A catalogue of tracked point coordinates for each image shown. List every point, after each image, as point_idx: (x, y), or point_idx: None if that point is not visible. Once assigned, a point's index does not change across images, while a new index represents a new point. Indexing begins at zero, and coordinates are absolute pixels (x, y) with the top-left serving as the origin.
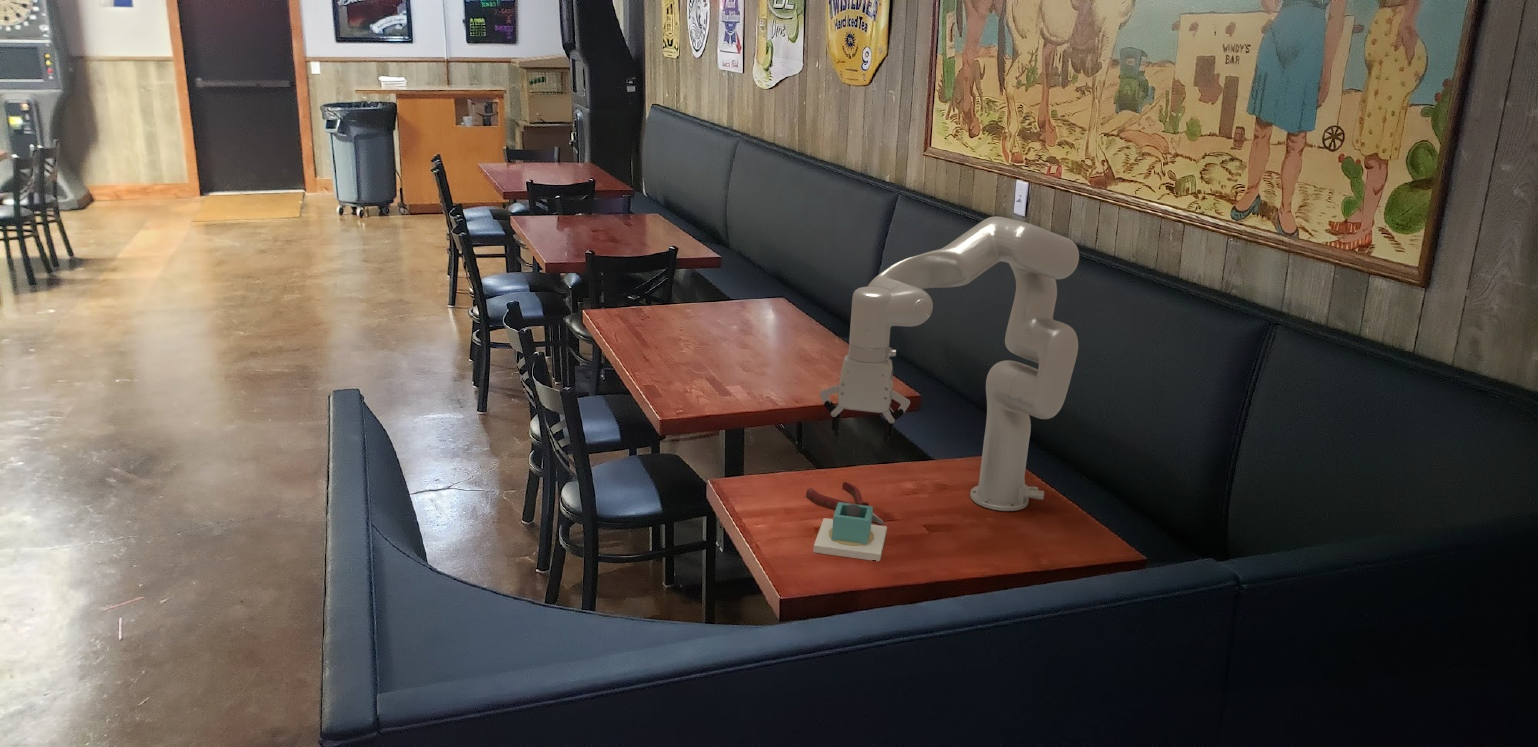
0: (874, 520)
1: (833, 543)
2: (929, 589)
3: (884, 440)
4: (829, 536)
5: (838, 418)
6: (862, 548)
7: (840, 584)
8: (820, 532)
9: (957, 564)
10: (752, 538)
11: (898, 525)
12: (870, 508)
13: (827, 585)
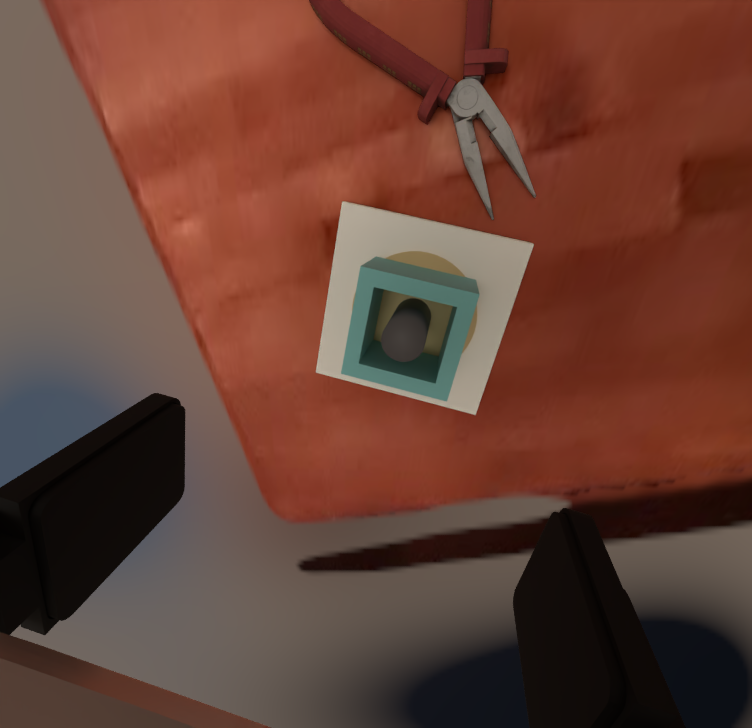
0: (508, 162)
1: None
2: None
3: (517, 607)
4: None
5: (56, 615)
6: None
7: (374, 493)
8: (331, 301)
9: (684, 418)
10: (183, 302)
11: (587, 177)
12: (467, 310)
13: (349, 496)
